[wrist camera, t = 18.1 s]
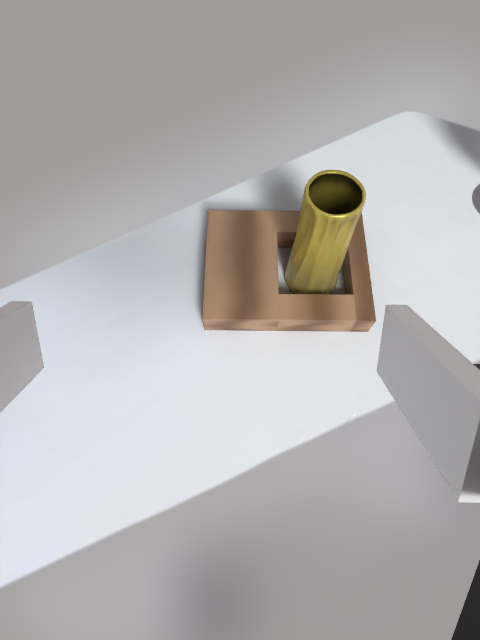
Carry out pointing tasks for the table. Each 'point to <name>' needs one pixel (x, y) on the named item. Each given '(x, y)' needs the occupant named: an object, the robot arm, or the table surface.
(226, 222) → the frame
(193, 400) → the table surface
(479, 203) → the wine glass
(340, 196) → the vase
